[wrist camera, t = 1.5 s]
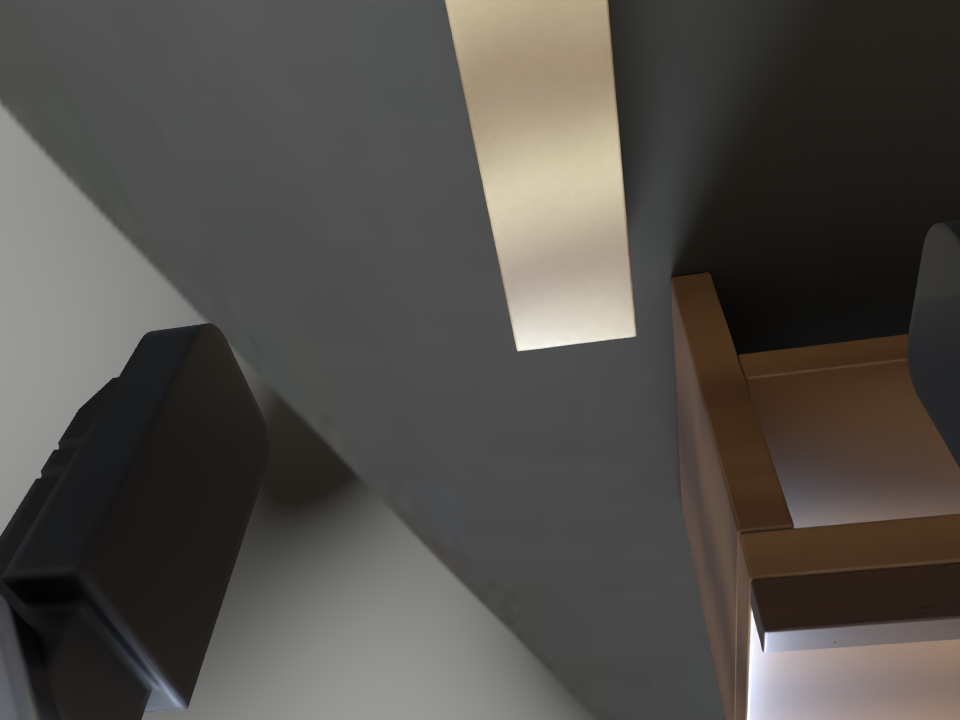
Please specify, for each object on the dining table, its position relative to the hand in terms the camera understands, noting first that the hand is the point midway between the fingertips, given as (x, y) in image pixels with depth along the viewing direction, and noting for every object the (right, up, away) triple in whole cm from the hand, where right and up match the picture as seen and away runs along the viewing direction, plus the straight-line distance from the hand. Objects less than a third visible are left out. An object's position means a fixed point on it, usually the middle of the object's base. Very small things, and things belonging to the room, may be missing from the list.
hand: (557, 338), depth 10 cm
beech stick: (0, +8, +11) cm, 14 cm away
